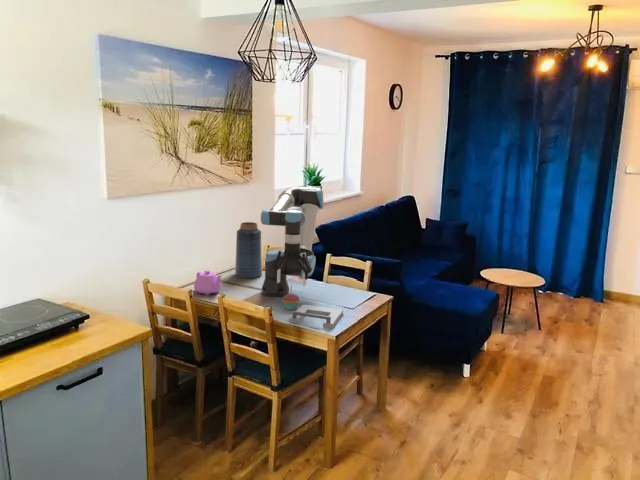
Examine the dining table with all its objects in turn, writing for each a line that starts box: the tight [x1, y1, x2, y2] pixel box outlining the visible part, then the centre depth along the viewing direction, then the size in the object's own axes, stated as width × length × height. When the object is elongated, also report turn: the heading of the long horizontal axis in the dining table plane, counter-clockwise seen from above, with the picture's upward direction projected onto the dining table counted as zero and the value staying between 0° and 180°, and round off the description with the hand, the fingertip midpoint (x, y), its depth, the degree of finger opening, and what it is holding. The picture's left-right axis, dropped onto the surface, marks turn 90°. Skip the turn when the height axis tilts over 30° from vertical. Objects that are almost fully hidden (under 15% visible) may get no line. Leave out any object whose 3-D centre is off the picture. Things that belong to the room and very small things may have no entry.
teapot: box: [193, 269, 223, 296], centre depth 281 cm, size 20×14×12 cm
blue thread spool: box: [234, 221, 263, 279], centre depth 314 cm, size 16×16×32 cm
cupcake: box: [282, 283, 300, 310], centre depth 262 cm, size 9×8×12 cm
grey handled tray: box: [288, 304, 344, 329], centre depth 251 cm, size 21×20×5 cm
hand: (291, 284), depth 260 cm, fingers open, 13 cm apart
